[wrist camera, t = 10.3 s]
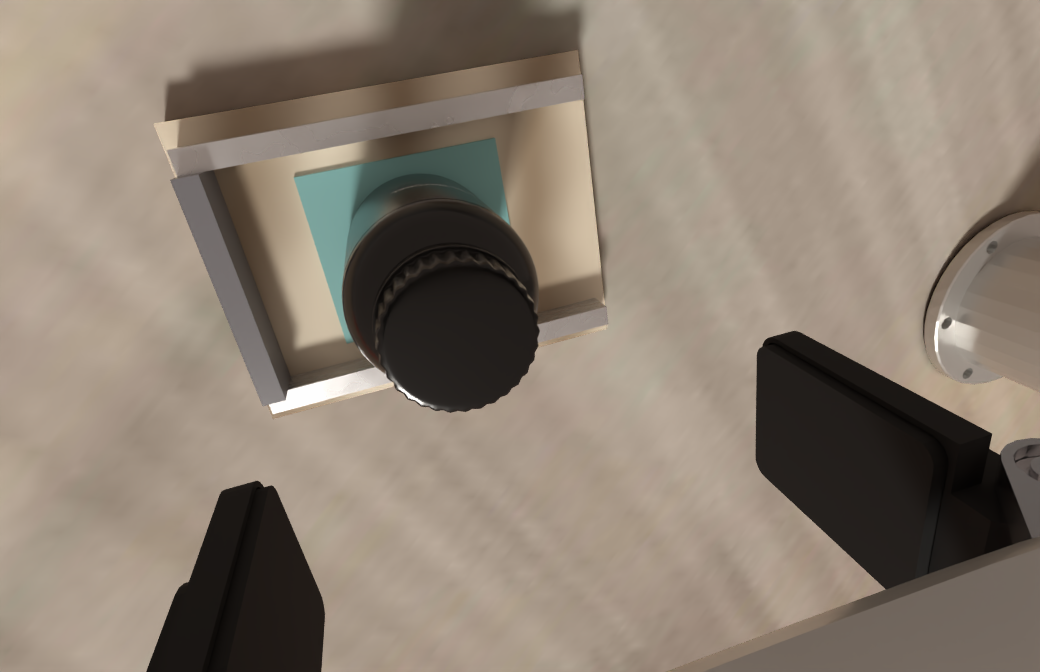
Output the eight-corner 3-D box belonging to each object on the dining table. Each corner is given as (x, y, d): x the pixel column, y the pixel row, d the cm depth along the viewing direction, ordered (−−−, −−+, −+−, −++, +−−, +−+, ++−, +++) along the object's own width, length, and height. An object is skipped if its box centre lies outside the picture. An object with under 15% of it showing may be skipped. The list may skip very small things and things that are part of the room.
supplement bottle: (438, 139, 26) (501, 168, 15) (517, 260, 29) (616, 356, 18) (311, 228, 26) (283, 321, 15) (404, 340, 29) (436, 483, 18)
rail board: (566, 52, 27) (599, 45, 24) (596, 319, 33) (626, 346, 30) (164, 122, 24) (132, 126, 20) (276, 404, 30) (266, 446, 26)
